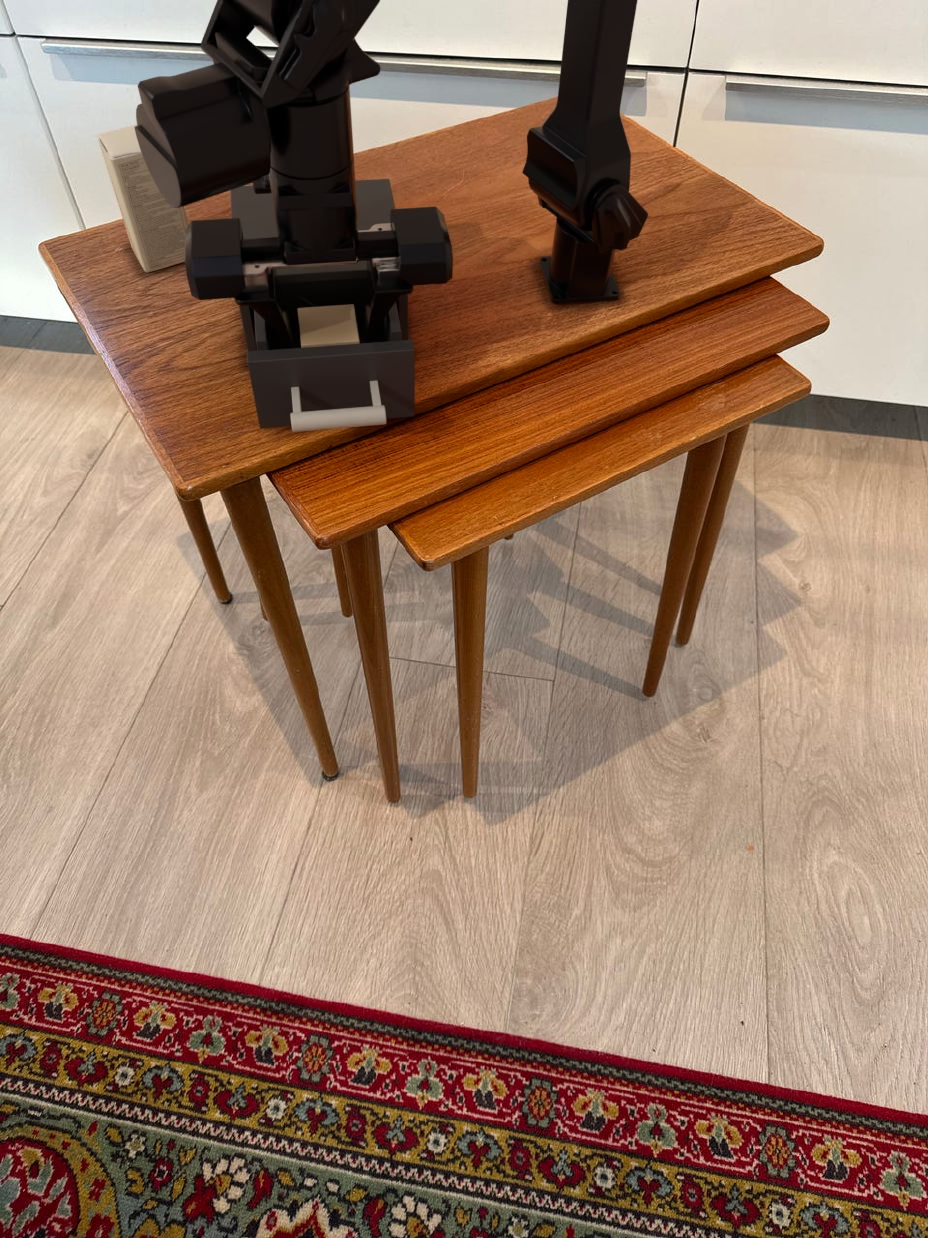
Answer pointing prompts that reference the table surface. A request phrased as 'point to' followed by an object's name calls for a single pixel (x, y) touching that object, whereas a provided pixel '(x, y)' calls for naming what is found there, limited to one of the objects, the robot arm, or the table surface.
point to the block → (328, 326)
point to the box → (143, 203)
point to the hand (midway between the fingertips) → (329, 345)
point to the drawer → (331, 367)
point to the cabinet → (262, 224)
